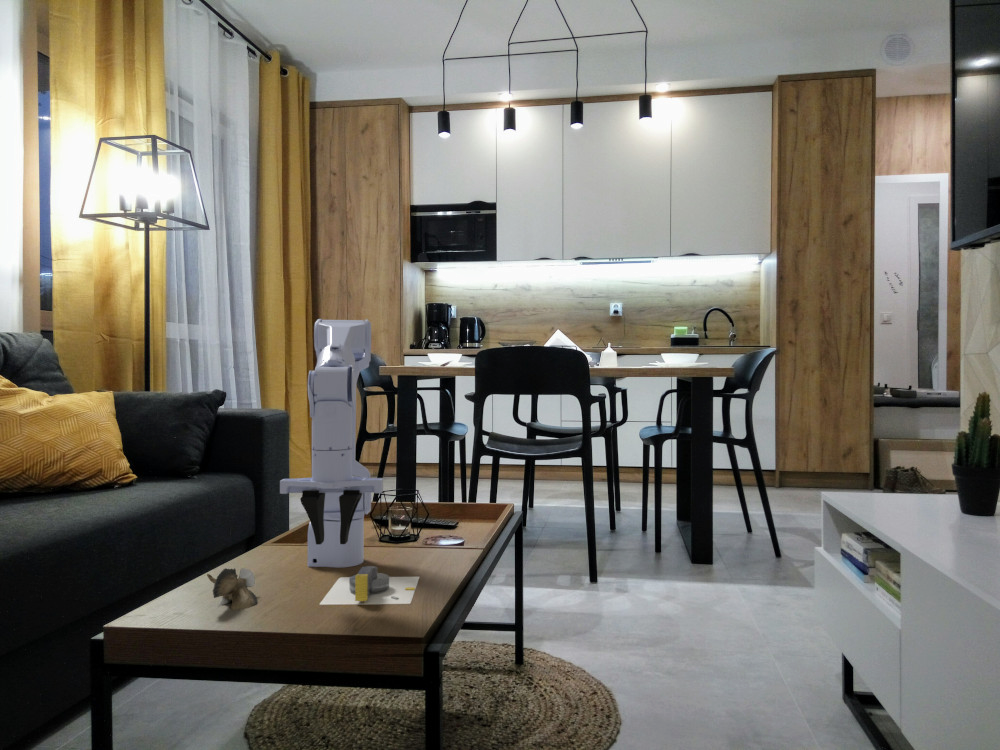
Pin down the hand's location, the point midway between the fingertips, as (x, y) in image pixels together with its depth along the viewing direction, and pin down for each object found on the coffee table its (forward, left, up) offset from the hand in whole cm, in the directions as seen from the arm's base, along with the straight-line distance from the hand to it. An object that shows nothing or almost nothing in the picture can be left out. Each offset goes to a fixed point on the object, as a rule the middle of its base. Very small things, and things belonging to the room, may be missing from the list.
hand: (331, 542), depth 100 cm
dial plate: (+5, +6, -9) cm, 12 cm away
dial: (+4, +3, -8) cm, 10 cm away
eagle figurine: (-14, 0, -10) cm, 17 cm away
